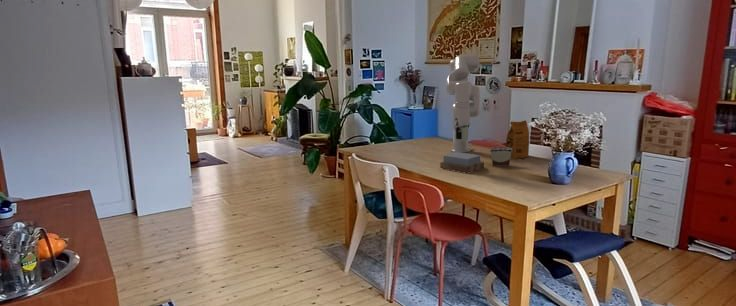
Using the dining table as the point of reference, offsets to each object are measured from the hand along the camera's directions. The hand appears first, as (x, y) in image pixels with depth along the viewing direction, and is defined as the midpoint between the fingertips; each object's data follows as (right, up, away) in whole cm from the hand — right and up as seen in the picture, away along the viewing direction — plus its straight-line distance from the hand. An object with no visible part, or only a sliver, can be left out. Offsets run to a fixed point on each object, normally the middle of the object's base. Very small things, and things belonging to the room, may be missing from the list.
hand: (461, 137), depth 261 cm
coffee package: (+39, -11, +27) cm, 48 cm away
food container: (+23, -15, +9) cm, 29 cm away
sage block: (0, -1, 0) cm, 1 cm away
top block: (+1, -14, +3) cm, 14 cm away
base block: (+1, -17, +4) cm, 18 cm away
